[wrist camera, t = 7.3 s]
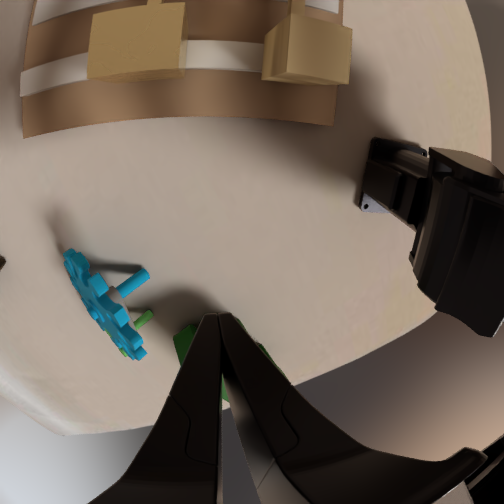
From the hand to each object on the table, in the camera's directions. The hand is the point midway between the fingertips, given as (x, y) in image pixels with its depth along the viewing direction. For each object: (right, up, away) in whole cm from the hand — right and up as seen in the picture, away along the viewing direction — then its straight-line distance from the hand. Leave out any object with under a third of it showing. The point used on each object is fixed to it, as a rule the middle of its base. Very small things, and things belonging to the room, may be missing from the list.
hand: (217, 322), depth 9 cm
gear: (-11, 0, +14) cm, 18 cm away
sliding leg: (-5, +16, +3) cm, 17 cm away
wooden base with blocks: (-4, +17, +4) cm, 18 cm away
